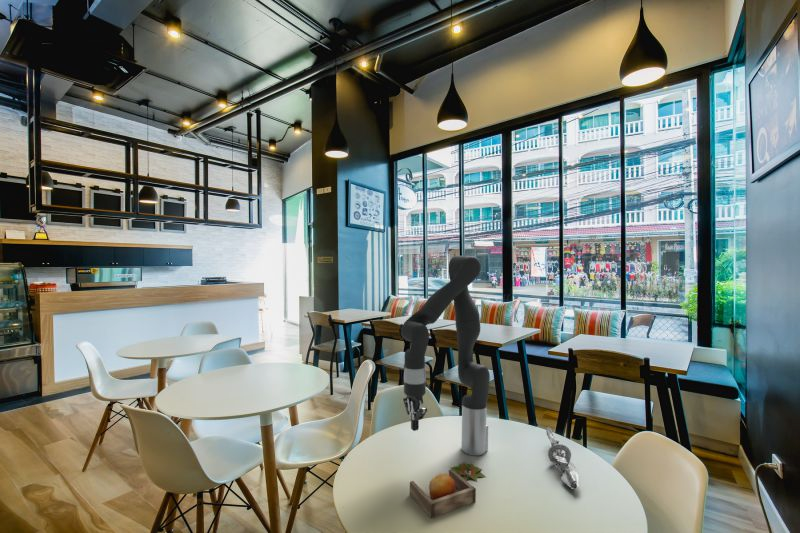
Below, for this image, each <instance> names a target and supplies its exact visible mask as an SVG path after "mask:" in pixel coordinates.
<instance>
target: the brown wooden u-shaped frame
mask: <svg viewBox="0 0 800 533" xmlns="http://www.w3.org/2000/svg"><path fill="white" fill-rule="evenodd" d="M448 475H449V476H450V477H451V478H452V479H453V481H454V483H455V490H457V491H455V493H453V494H450V495H447V496H444V497H441V498H438V499H435V500H433V499H432V498H431V497H430V495H429V494H427V493H425V491H424V490H423V489H422V488H421V487H420V486H419V485H418V484H417V483H416V482H415V480H411V481H409V496H410V497H411V498H412V499H413V500H414V501H415V502H416V504H418V506H419V508H421V509H422V510H423V511H424V513H425V514H426V515H428V517H429V518H430V519H433V518H437V517H438V516H440V515H444V514H447V513H450V512H452V511H454V510H458V509H460V508H463V507H465V506H468V505H470V504H473V503H476V502H477V501H476V498H477V497H476V496H477V495H476V494H477V492H476V491H477V490H476V487H475V486H473V485H472V484H471V483H470V482H468V481H467V480H465V479H464V478H462V477H461V476H460V474H457V473H456V472H455V470H454V469H452V468H451V469H448Z"/></svg>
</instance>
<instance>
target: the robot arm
mask: <svg viewBox="0 0 800 533" xmlns="http://www.w3.org/2000/svg"><path fill="white" fill-rule="evenodd" d="M481 265H482V264H481V261H480V260H479V259H478V258H477V257H476V256H473V255H455V256H452V257H451V259H450V260H449V262H448V275H449V277H448V278H449V281H448V282H447V283H446V284H445V285H444V286H442V287H440V288H439V289H437V290H436V291H435V292H434V293H432V294H431V295H430V296H429V297H428V299H427V300H426V301H425V302H424V303H423V305H422V306H421V307H420V309H419V310H417V311H416V312H415V313H414V314H412V315H411V316H410V317H408V318H407V319H406V320H405V321H404V323H403V324H402V326H401V328H400V335H401V337H402V339H404V340H405V341H407V342H410V347H409V348H408V349H406V351H405V352H404V369H403V370H404V371H403V394H404V395H405V397H403V399H402V401H403V404H404V407H405V411H406V413H407V415H408V416H409V419H410V429H411V430H412V431H413V432H415V431H419V427H420V426H419V424H420V422H419V421H420V420H423V419H424V417H425V415H427V412H428V409H427V407H424V399H423V396H424V395H425V394H426V388H427V386H426V384H427V382H426V379H427V378H426V373H427V372H426V360H425V359H426V358H425V357H426V352H427V349H428V345H429V344H428V343H429V338H430V334H429V329H428V326H427V325H431V324H432V325H433V324H435V323H436V322H437V321H438V320H439V318H440V317H441V315H442V314H443V313H444V312H445V311H446V310H447V308H448V306H449V305H450V304H451V303H452V302H453V306H454V317H455V320H454V321H455V328H456V337H457V339H456V341H457V374H458V379H459V382H460V383H461V384H462V385H464V386H466V387H469V388H471V393H468V394H465V395H464V396H463V397H462V399H461V400H462V402H461V403H462V404H461V405H462V406H461V451H462V452H463V453H465V454H467V455H469V456H482V455H484V454H485V453H486V452H487V451H488V450H489V425H488V424H487V406H488V405H487V403H488V399H489V395H490V383H491V382H490V381H491V380H490V379H491V378H490V377H491V376H490V371H489V369H488V367H487V366H486V365H482V364H479V363H475V362H474V352H473V351H474V350H473V349H474V346H475V344H476V342H477V340H478V338H479V336H480V334H481V318H480V313H479V312H480V311H479V310H478V307H477V305H476V303H475V301H474V300H473V298H472V296H471V294H470V291H469V287H468V286H469V285H471V283H473V281H474V282H475V280H476V279H477V278H478V276H479V275H480V273H481V267H482V266H481Z"/></svg>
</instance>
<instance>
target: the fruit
mask: <svg viewBox="0 0 800 533" xmlns="http://www.w3.org/2000/svg"><path fill="white" fill-rule="evenodd" d="M428 488H429V497H430V498H431V500H435V499H438V498H441V497H444V496H447V495H450V494H453V493H456V488H455V483H454V481H453V479H452V478H451V477H450V476H449V474H447V473H445V474H444V473H440V474H436V475H435V476H434V477H433V478H432V479H431V480H430V482H429V487H428Z"/></svg>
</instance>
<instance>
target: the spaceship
mask: <svg viewBox="0 0 800 533" xmlns="http://www.w3.org/2000/svg"><path fill="white" fill-rule="evenodd" d="M545 432H546V436H547V437H548V440H549V441H550V445H551V447H550V448H548V452H547V457H548V459H549V461H550V462H552V463H553V465H554V466H555V467H556V468H557V469H558V472H559V474H560V473H561V474H560V476H561V475H562V476H561V477H560V480H562V482H564V484H566V485H567V486H568V487H569V488H570V489H571V490H575V491H577V490H576V489H577V488H579V483H580V481H579V480H580V479H579V472H577V471H576V470H577V468H576V466H575V464H574V463H573V462H572V461H571V459H572V452H571V449H570V448H569V447H568V446H567V445H564V444H563V443H562V444H561V443H560V440H559V439H556V438H555V436H554V433H553V430H552V428H551V427H550V426H549V427H546V430H545ZM563 451H564V452H563ZM554 454H555V455H554ZM556 464H557V465H556ZM558 464H560V465H558ZM570 467H572V468H574V469H575V470H572V468H570Z"/></svg>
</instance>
